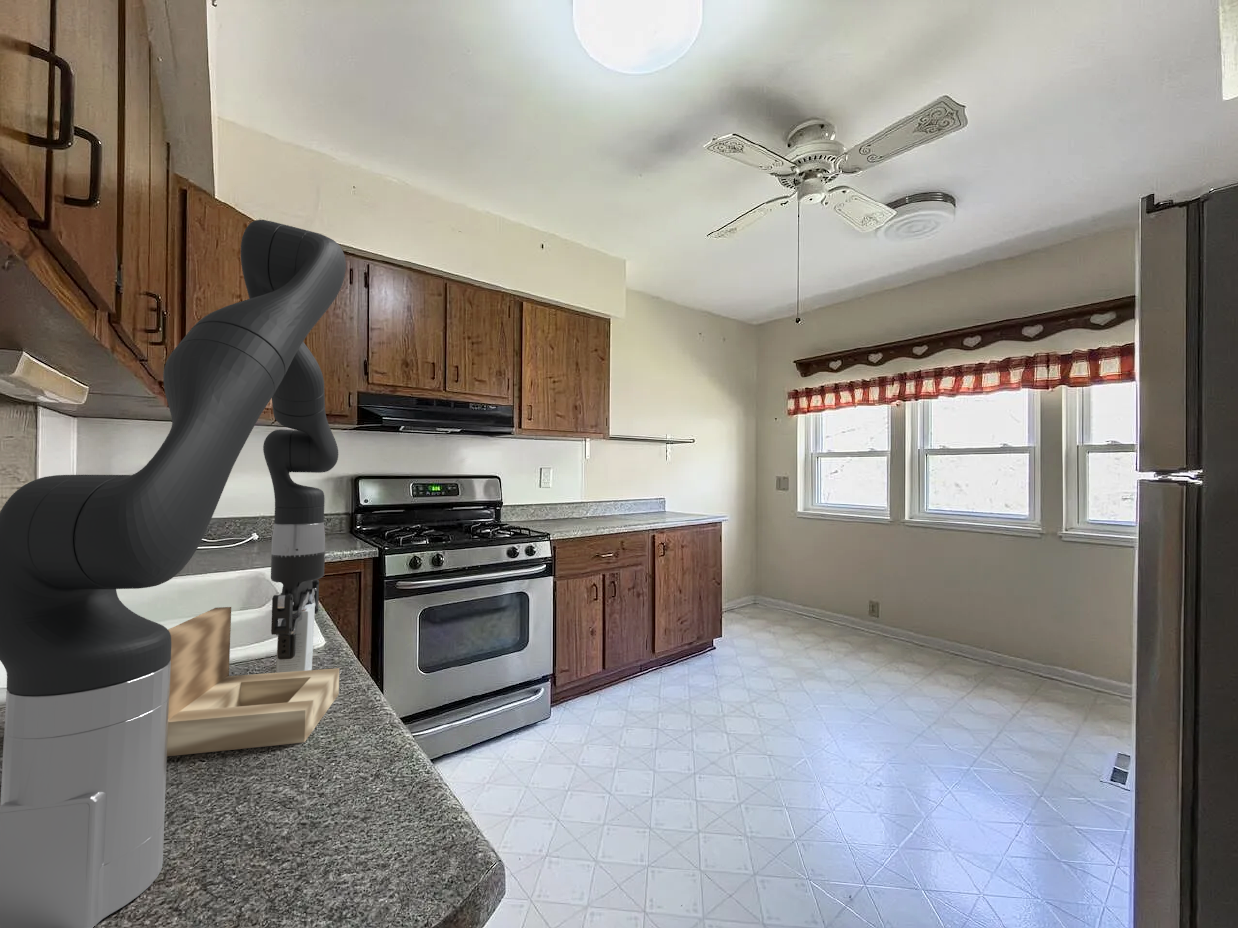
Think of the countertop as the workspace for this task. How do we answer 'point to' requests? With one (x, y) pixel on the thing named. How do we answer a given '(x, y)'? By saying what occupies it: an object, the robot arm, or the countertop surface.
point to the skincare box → (300, 644)
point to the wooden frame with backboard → (236, 694)
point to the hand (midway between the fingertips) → (295, 650)
